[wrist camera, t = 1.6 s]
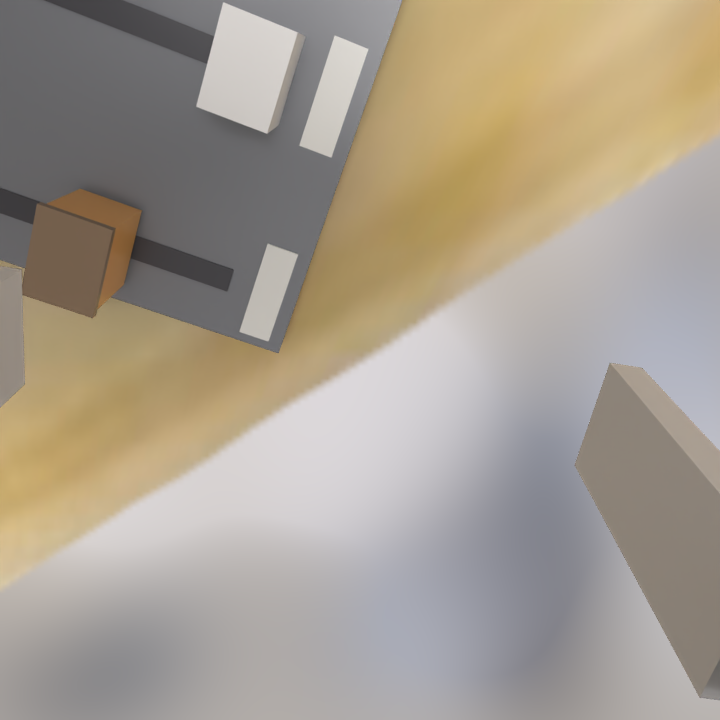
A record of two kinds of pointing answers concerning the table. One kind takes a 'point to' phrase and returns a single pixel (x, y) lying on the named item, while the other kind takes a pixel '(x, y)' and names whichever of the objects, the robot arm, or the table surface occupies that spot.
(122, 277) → the brown rectangular block
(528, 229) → the table surface
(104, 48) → the grey slider board
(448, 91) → the table surface
